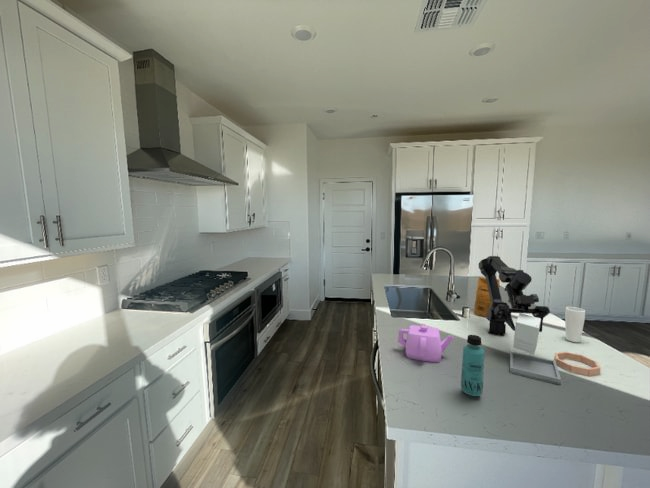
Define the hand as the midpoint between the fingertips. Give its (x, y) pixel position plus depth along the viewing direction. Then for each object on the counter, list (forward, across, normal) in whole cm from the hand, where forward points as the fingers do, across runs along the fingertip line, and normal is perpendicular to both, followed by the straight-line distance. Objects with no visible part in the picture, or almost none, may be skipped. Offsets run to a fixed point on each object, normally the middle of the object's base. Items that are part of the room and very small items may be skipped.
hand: (527, 331), depth 112 cm
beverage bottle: (+27, -28, -9) cm, 40 cm away
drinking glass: (-7, +31, +26) cm, 41 cm away
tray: (+13, 0, +5) cm, 14 cm away
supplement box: (+4, 0, +6) cm, 7 cm away
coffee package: (-28, +4, +47) cm, 55 cm away
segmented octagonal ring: (+10, +17, +8) cm, 21 cm away
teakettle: (+9, -39, +10) cm, 41 cm away
